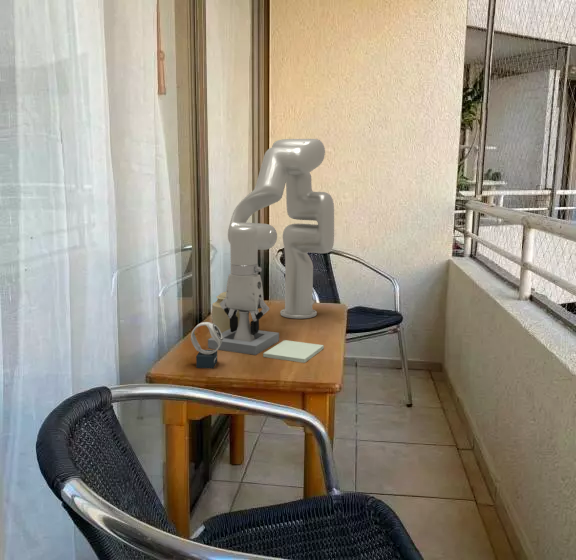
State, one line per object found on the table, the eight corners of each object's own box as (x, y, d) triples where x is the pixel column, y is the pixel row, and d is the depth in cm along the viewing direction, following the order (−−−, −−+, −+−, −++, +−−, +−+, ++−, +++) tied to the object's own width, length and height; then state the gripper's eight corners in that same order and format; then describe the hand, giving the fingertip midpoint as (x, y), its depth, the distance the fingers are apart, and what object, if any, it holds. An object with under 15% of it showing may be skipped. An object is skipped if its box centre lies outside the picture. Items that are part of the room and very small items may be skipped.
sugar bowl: (220, 322, 195) (219, 277, 192) (253, 323, 193) (253, 278, 191) (208, 334, 180) (207, 285, 178) (244, 335, 179) (243, 286, 176)
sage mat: (284, 343, 171) (284, 340, 171) (323, 348, 166) (323, 345, 166) (263, 356, 158) (263, 353, 158) (304, 362, 153) (304, 359, 153)
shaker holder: (234, 335, 179) (234, 327, 179) (279, 341, 173) (279, 332, 173) (208, 348, 166) (207, 339, 165) (255, 355, 160) (255, 346, 159)
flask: (253, 349, 165) (253, 314, 163) (228, 347, 167) (228, 312, 165) (259, 342, 172) (259, 308, 170) (235, 340, 174) (235, 307, 172)
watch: (221, 368, 148) (220, 326, 146) (189, 367, 149) (188, 325, 147) (224, 361, 154) (224, 320, 152) (194, 360, 154) (193, 319, 152)
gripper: (277, 270, 165) (277, 332, 169) (223, 266, 172) (224, 326, 176) (265, 274, 159) (265, 339, 162) (210, 269, 166) (211, 332, 169)
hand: (244, 331), depth 169 cm, fingers open, 5 cm apart
